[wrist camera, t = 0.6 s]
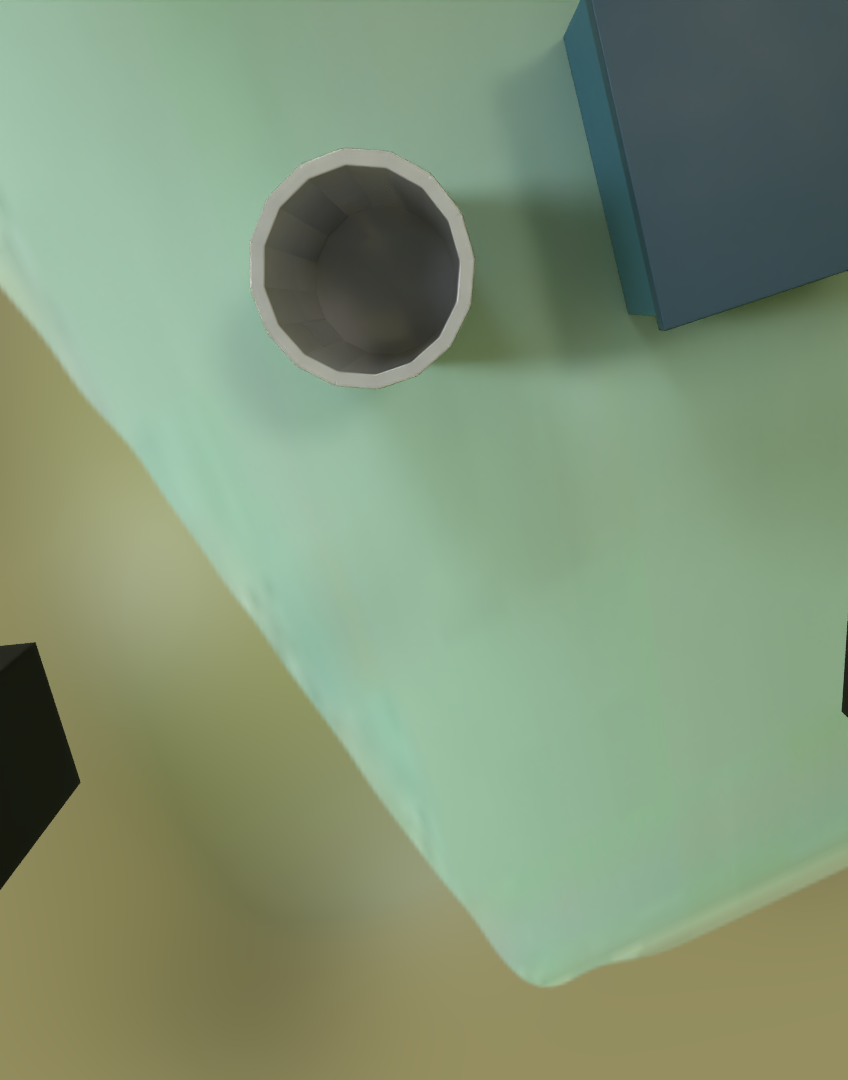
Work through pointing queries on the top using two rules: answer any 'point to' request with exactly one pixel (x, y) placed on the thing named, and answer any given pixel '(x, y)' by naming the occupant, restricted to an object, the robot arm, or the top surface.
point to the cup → (361, 268)
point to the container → (716, 146)
